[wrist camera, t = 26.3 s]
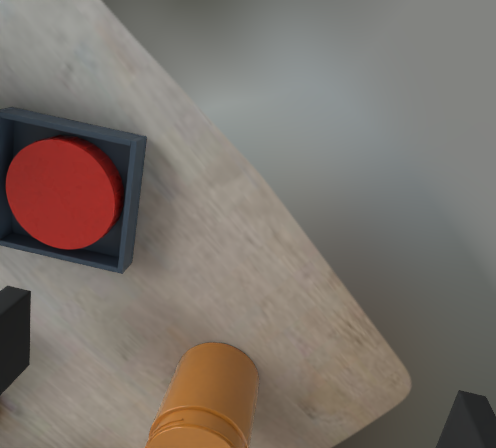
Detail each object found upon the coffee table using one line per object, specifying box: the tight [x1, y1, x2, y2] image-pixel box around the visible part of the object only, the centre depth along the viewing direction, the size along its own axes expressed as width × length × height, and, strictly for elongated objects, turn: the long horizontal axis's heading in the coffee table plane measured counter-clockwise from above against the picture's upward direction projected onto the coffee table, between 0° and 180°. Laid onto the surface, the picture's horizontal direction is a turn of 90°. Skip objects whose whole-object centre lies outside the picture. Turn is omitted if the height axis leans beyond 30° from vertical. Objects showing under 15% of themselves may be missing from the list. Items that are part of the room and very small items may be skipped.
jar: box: [145, 342, 259, 448], centre depth 43 cm, size 8×8×11 cm
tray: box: [0, 107, 147, 274], centre depth 42 cm, size 12×12×2 cm
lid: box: [6, 135, 124, 249], centre depth 41 cm, size 10×10×2 cm
